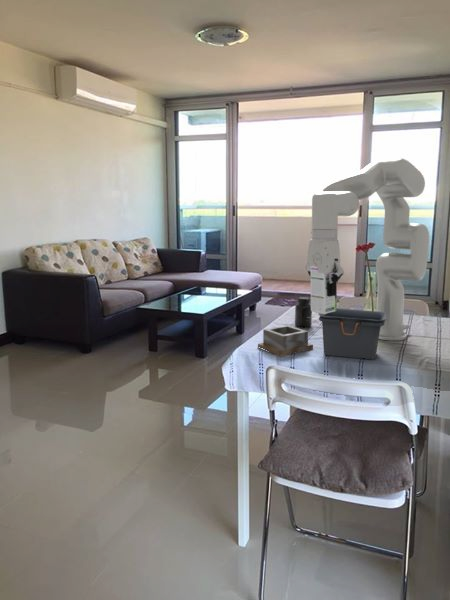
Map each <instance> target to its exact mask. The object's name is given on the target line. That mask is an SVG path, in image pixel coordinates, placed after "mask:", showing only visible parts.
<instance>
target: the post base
mask: <svg viewBox="0 0 450 600" xmlns="http://www.w3.org/2000/svg"><path fill="white" fill-rule="evenodd" d="M262 331H263V336H262V337H263V338H262V340H263V342H260V343H257V348H258V347H260V348H263V349H265V350H267V351H269V352H270V354H272V355H275V356H277V357H282V356H287V355H288V356H289V355H291V354H295V352H297V353H300V352H299V351H301V352H304V351H303V350H306V351H309V350H308V349H310V350H313V349H314V344H312V343H309V331H308V330H304V329H303V328H298V327H296V326H292V325H289V324H286V325H279V326H275V327H270V328H269V327H268V328H263V330H262ZM260 348H259V349H260ZM265 350H264V351H265ZM267 351H266V352H267ZM269 352H268V353H269Z"/></svg>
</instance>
